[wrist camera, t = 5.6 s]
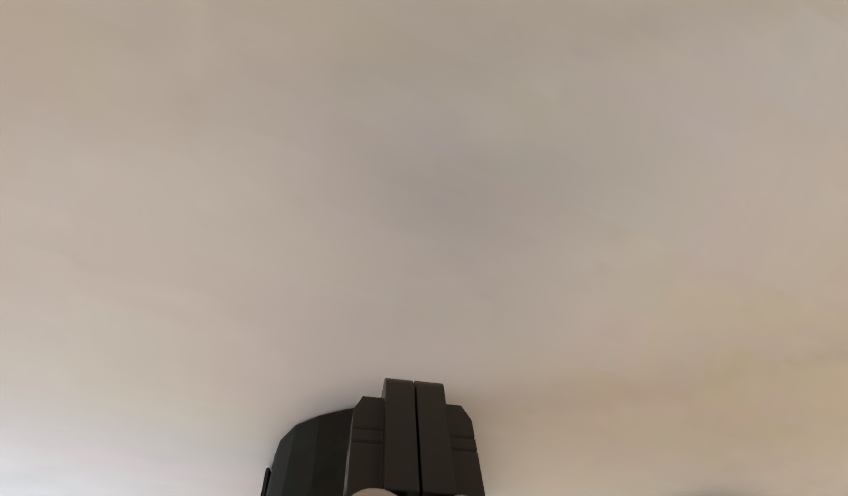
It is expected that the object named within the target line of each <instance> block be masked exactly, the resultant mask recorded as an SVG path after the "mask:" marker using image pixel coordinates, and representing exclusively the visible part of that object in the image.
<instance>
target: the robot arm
mask: <svg viewBox="0 0 848 496" xmlns="http://www.w3.org/2000/svg"><path fill="white" fill-rule="evenodd" d="M343 496H485V492H484V486H483V481H482V475H481V470H480V464H479V459H478V453H477V448H476V442H475V440H474V431H473V426H472V421H471V419H470V418H469V416H468V415H467V413H466V412H465V411H464V409H463V408H462V406H458V405H448V404H446V401H445V394H444V386H443V384H440V383H430V382H420V381H415V382H414V383H413V381H410V380H400V379H390V378H385V380H384V385H383V391H382V397H381V398H376V397H365V396H363V397H362V398H361V400H360V401H359V403H358V404H357V405H356V407H355V408H354V410H353V417H352V424H351V431H350V437H349V444H348V451H347V459H346V470H345V481H344V492H343Z"/></svg>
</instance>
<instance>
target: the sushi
mask: <svg viewBox="0 0 848 496" xmlns="http://www.w3.org/2000/svg"><path fill="white" fill-rule="evenodd" d="M353 410H354V409H350V410H345V411H341V412H336V413H331V414H327V415H322V416H318V417H316V418H313V419H311V420H308V421H306V422H303V423H301V424H298V425H296V426H295V427H294V428H293V429H292V430H291V431H290V432H289V433H288V434H287V435H286V436H285V437H284V438H283V439H282V440H281V441H280V443H279V446H278V449H277V451H276V454H275V458H274V462H273V467H272V471H271V470H270V468H267V469H266V472H265V477H264V482H263V487H262V492H261V496H343V492H344V481H345V470H346V459H347V451H348V444H349V437H350V431H351V424H352V417H353Z"/></svg>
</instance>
